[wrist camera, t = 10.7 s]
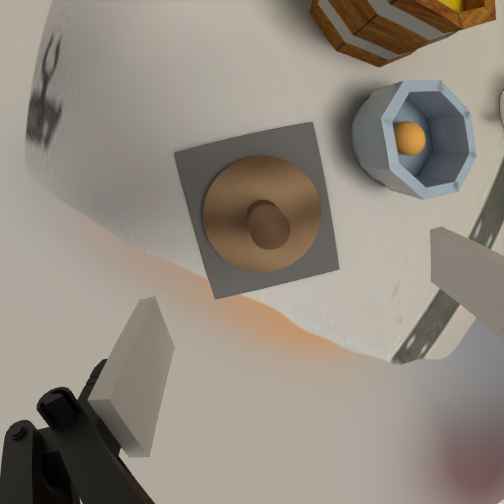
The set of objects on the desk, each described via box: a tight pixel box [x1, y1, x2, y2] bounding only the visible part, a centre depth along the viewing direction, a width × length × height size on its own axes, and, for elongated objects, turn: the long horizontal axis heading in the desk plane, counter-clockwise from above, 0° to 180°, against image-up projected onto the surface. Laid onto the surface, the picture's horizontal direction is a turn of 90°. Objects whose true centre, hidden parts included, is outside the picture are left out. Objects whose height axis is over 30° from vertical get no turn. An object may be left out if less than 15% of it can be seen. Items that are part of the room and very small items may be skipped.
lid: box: [203, 156, 321, 272], centre depth 29 cm, size 12×12×7 cm
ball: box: [393, 121, 426, 156], centre depth 28 cm, size 4×4×4 cm
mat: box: [175, 122, 339, 299], centre depth 32 cm, size 16×14×1 cm
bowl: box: [351, 81, 477, 200], centre depth 27 cm, size 10×10×8 cm
